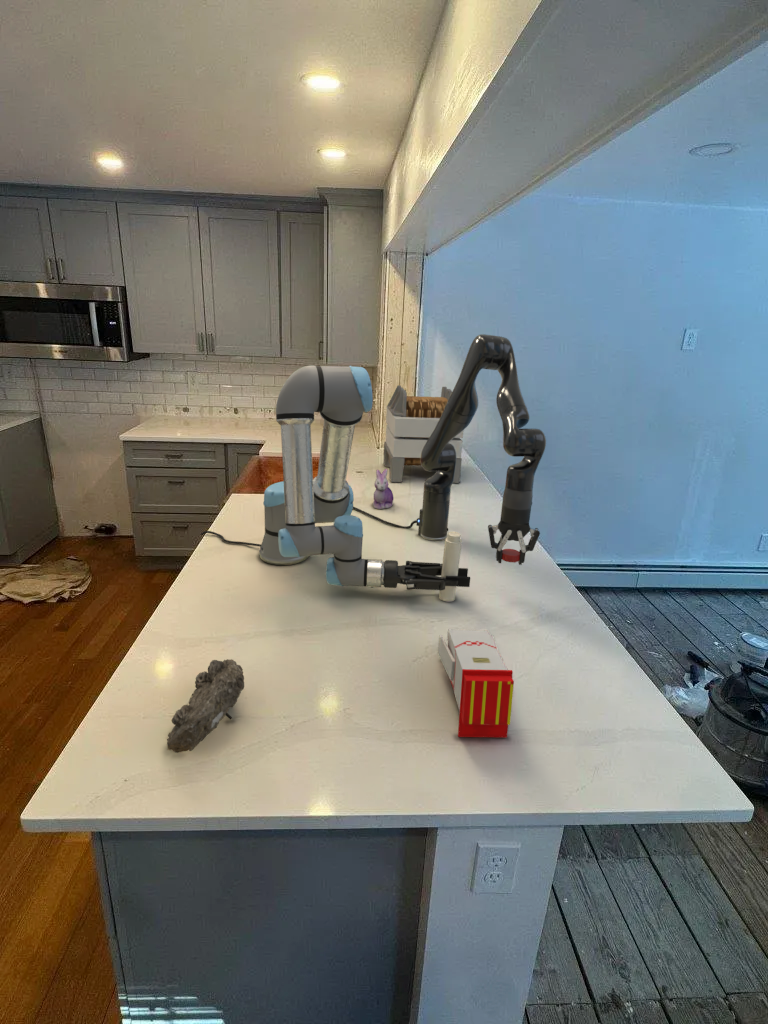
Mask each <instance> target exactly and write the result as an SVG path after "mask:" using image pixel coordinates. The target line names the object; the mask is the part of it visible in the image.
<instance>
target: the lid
mask: <svg viewBox="0 0 768 1024" xmlns="http://www.w3.org/2000/svg"><path fill="white" fill-rule="evenodd" d="M502 551H503V552H502V561H504V562H506V563H518V561H519V560H520V552H519V551H520V550H517V549H515V548H503V549H502Z"/></svg>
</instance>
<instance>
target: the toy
mask: <svg viewBox="0 0 768 1024" xmlns="http://www.w3.org/2000/svg"><path fill="white" fill-rule="evenodd" d="M446 640H447V643H446V641H445V639H444V636H443V635H442V634H439V637H438V646H437V656H438V657H439V659H440V661H441V663H442V666H443V668H444V670H445V672H446V674H447V677H448V679H449V681H450V684H451V687H452V690H453V693H454V697H455V701H456V705H457V708H458V711H459V714H458V715H459V716H458V730H457V731H458V732H457V737H458V738H508V731H509V726H510V725H511V717H512V707H513V697H514V696H513V695H514V684H515V680H514V679H513V673H514V671H513V670H512V669H508V667H507V665H506V662H505V661H504V659H503V658H502V655H501V653H500V651H499V649H498V647H497V643H496V639H495V637H494V635H493V634H491V632H490V631H489V629H467V628H466V629H465V628H463V629H461V628H460V629H459V628H448V630H447V639H446Z"/></svg>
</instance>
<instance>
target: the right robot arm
mask: <svg viewBox="0 0 768 1024" xmlns="http://www.w3.org/2000/svg"><path fill="white" fill-rule="evenodd" d="M467 351H468V352H467V354H466V357H465V359H464V360H465V361H464V363H463V366H462V368H461V371H460V374H459V375H458V378H457V381H456V382H455V385H454V387H453V389H452V390H451V391H452V393H451V395H450V397H449V399H448V401H447V404H446V406H445V408H444V411H443V413H442V415H441V417H440V419H439V421H438V423H437V425H436V427H435V429H434V431H433V432H432V434H431V436H430V437H429V439H428V440H427V442H426V444H425V445H424V447H423V449H422V452H421V458H420V462H421V466H420V467H422V469H423V470H424V471H426V472H434V474H433V475H431V476H429V477H428V478H427V479H425V480H424V482H423V493H422V496H423V497H422V506H421V508H420V509H419V516H418V518H416V520H413V521H412V522H411V523H410V525H408V526H405V525H404V526H403V525H400V524H396V523H394V522H391V521H387V520H384V519H382V518H380V517H378V516H376V515H373V514H372V513H369V512H367V511H365V510H362V509H360V508H358V507H356V506H353V510H355V511H357V512H359V513H361V514H363V515H366V516H368V517H370V518H373V519H375V520H377V521H379V522H381V523H383V524H386V525H388V526H392V527H395V528H398V529H405V530H409V529H412V527H413V526H414V525H415V524H416V526H417V527H418V530H417V535H418V536H420V538H421V539H424V540H426V541H432V542H440V541H445V538H447V535H448V532H449V528H448V525H449V517H450V516H449V514H450V504H451V494H452V493H451V491H452V486H453V484H454V483H453V480H454V472H455V466H456V451H455V448H454V446H453V445H452V444H451V443H448V442H449V441H450V440H452V439H453V438H454V437H455V436H457V435H458V434H459V433H461V432H462V431H463V430H464V431H465V429H467V427H468V426H469V425H470V424H471V422H472V421H473V419H474V417H475V415H476V413H477V411H478V408H479V395H478V391H477V387H476V380H477V378H478V375H479V373H480V371H481V370H490V371H497V372H498V373H499V375H500V377H501V381H500V382H501V383H500V385H499V388H498V391H497V394H496V397H495V399H496V407H497V410H498V413H499V416H500V420H501V424H502V447H503V450H504V452H505V453H506V454H507V455H508V456H509V457H514V458H516V457H517V458H519V457H522V459H521V460H520V461H519V462H516V463H512V464H510V465H509V466H508V467H507V470H506V477H505V485H504V490H503V496H502V503H501V511H500V520H499V522H498V523H497V524H494V525H492V524H488V526H487V530H488V537H489V542H490V548H491V549H495V550H496V552H495V553H496V554H495V559H496V561H497V563H498V564H502V561H503V560H502V552H503V551H502V550H503V549H504V546H505V545H506V544H507V542H509V541H514V542H518V544H519V547H520V549H519V550H518V551H519V552H520V560H519V561H518V562H517V563H518V565H519V566H522V565H523V564H524V563H525V560H526V553H527V552H533V551H534V549H535V547H536V544H537V542H538V539H539V537H540V534H541V532H540V530H539V528H538V527H531V526H530V520H531V513H532V507H533V496H534V495H533V488H534V482H535V475H536V472H537V470H538V468H539V464H540V462H541V460H542V458H543V455H544V453H545V452H546V451H545V450H546V447H547V438H546V435H545V433H544V432H543V430H542V429H540V428H537V427H535V428H534V427H533V428H524V427H525V426H526V425H527V424H528V423H529V421H530V412H529V410H528V407H527V404H526V402H525V399H524V396H523V394H522V390H521V386H520V382H519V374H518V367H517V362H516V357H515V351H514V347H513V344H512V342H511V341H510V339H509V338H507V337H505V336H500V335H493V334H492V335H491V334H486V333H485V334H484V333H482V334H478V335H476V336H475V337H474V339H473V340H472V342H471V344H470V347H469V348H468V350H467ZM497 531H499V533H500V534H501V535H500V536H499V539H498V542H496V540H495V534H497ZM528 534H530V538H529V541H528V543H527V544H525V540H524V538H525V537H526V536H527V535H528Z"/></svg>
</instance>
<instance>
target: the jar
mask: <svg viewBox="0 0 768 1024" xmlns="http://www.w3.org/2000/svg"><path fill="white" fill-rule="evenodd" d="M461 537H462V534H461V533H460V532H457V531H448V532H447V538H445V539H444V547H443V556H442V563H441V564H442V573H441V576H440V577H445V578H446V576H458V569H459V568H460V560H461V552H462V544H463V540H462V539H461ZM438 591H439V592H438V598H439V600H441V601H443V602H450V603H451V602H454V601H455V600H456V594H457V586H445V590H438Z"/></svg>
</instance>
